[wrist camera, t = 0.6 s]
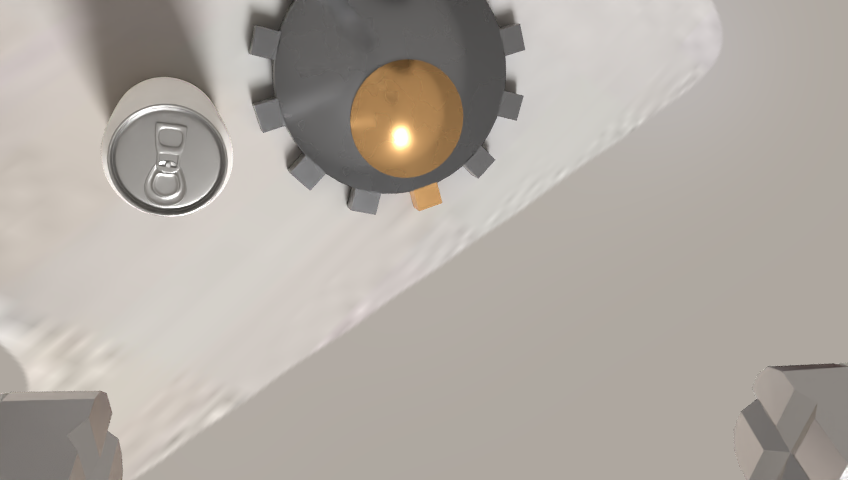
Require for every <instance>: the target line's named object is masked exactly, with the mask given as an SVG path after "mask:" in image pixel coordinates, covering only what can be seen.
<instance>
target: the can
mask: <svg viewBox="0 0 848 480" xmlns="http://www.w3.org/2000/svg"><path fill="white" fill-rule="evenodd" d="M101 161H102V166H103V170H104V173H105V175H106V178H107V180H108V182H109V183H110V185H111V187H112V188H113V189H114V191H115V192H116V193H117V194H118V195H119V196H120V197H121V198H122V199H123V200H124V201H125V202H127V203H128V204H129V205H131V206H133V207H134V208H136V209H138V210H140V211H142V212H145V213H148V214H151V215H156V216H163V217H176V216H183V215H187V214H190V213H193V212H196V211H198V210H200V209H202V208H204V207H205V206H207V205H208V204H210V203H211V202H212V201H213V200H214V199H215V198H216V197H217V196H218V195H219V194H220V193H221V192H222V190H223V189H224V187H225V186H226V184H227V182H228V179H229V177H230V174H231V170H232V165H233V147H232V142H231V139H230V135H229V133H228V130H227V128H226V126H225V124H224V122H223V120H222V118H221V117H220V115H219V113H218V111H217V109H216V108H215V106H214V105H213V103H212V102H211V100H210V99H209V98H208V97H207V95H206V94H205V93H204V92H202V91H201V90H200V89H199V88H197V87H196V86H194V85H193V84H191V83H189V82H186V81H184V80H181V79H177V78H172V77H156V78H151V79H148V80H145V81H142V82H140V83H138V84H136V85H135V86H133V87H132V88H131V89H129V90H128V91H127V92H126V93H125V94H124V95H123V97H122V98H121V99H120V101H119V102H118V104H117V106H116V108H115V109H114V111H113V113H112V115H111V117H110V119H109V121H108V123H107V126H106V128H105V131H104V134H103V137H102V142H101Z"/></svg>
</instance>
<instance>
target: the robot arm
mask: <svg viewBox="0 0 848 480" xmlns="http://www.w3.org/2000/svg"><path fill="white" fill-rule="evenodd" d="M752 390H753V391H754V393H755V396H756V398H757V399H756V400H755V401H754V402H752V403H751V404H750V405H749V406H747V407H746V408H745V409H743V410H742V411H741V413H740V415H739V417H738V420H737V422H736V425H735V428H734V451H735V453H736V457H737V460H738V464H739V466H740V468H741V470H742V472H743V474H744V476H745V478H746V480H848V363H840V364H834V363H832V364H810V365H789V366H768V367H766V368H765V369H764V370H762V371H761V372H760V373H759V374H758V375H757V378H756V379H755V382H754V384H753V386H752ZM111 416H112V410H111V407H110V403H109V400H108V396H107V393H105V392H102V391H53V392H10V393H0V480H122V477H123V465H122V452H121V448H120V443H119V439H118V438H117V437H115V436H114V435H113V434H111V433H110V432H108V427H109V423H110V420H111Z"/></svg>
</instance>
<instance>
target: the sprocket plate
mask: <svg viewBox="0 0 848 480" xmlns="http://www.w3.org/2000/svg"><path fill="white" fill-rule="evenodd" d="M523 50H525V47H524V42H523V37H522V32H521V27H520V24H510V25H507V26H503V27H500V28H499V27H498V24H497V22H496V19H495V17H494V14H493V12H492V11H491V9H490V7H489V5H488V4H487V2H486V0H294V1H293V3H292V4H291V6H290V8H289V9H288V11H287V13H286V15H285V17H284V19H283V22H282V24H281V26H280V29H279V31H276V30H273V29H269V28H265V27H261V26H257V25H254V30H253V35H252V40H251V45H250V50H249V54H252V55H256V56H260V57H264V58H268V59H272V60H273V86H274V94H275V97H272V98H269V99H266V100H263V101H259V102H256V103H253V104H252V105H253V108H254V111H255V114H256V117H257V120H258V123H259V126H260V129H261V131H262V132H263V133H264V132H267V131H270V130H273V129H277V128H280V127H283V126H285V127H286V129H287V130H288V132H289V134H290V136H291V137H292V139H293V140H294V142H295V143H296V144H297V146H298V147H299V148H300V150H301V151H302V152H303V153H302V154H301V155H300V157H299V158H298V159H297V160H296V161H295V162H294V163H293V164H292V165H291V166H290V168H289V169H288V171H289V172H290V173H291V174H292V175H293V176H294V177H295V178H296V179H297V180H299V181H300V182H301V183H302V184H303V185H304V186H306V187H307V188H308V189H309V190H311V189H312V188H313V187H314V186H315V185H316V184H317V183H318V181H319V180H320V179H321V178H322V177H323V176H324V175H325V174H327V175H329V176H331V177H332V178H334V179H336V180H337V181H339V182H341V183H343V184H346V185H348V186H351V187H352V188H351V192H350V196H349V201H348V205H347V207H348V208H349V209H350V210H352V211H358V212H363V213H369V214H374V215H376V211H377V207H378V203H379V199H380V195H381V193H383V194H386V193H404V192H410V195H411V198H412V202H413V206H414V208H416V209H417V210H418V211H421V210H424V209H427V208H429V207H432V206H435V205H438V204H441V203H442V200H441V196H440V193H439V189H438V185H437V182H439V181H441V180H443V179H445V178H446V177H448V176H450V175H451V174H453V173H454V172H455V171H457V170H458V169H459V168H461V167H462V166H463V167H464V168H465V169H466V170H467V171H468V172H469V173H470V174H471V175H473V176H475V177H476V178H479V177H480V176H481V175H482V174H483V173H484V172H485V171H486V170H487V168H488V167H489V166H490V165H491V164H492V163H493V162H494V161H495V159H494V158H493V157H492V156H491V155H490V154H489V153H488V152H487V151H486V150H485V149H484V148H483V147H482V146H481V145H482V144H483V142H484V141H485V139H486V138H487V136H488V134H489V133H490V131H491V129H492V127H493V125H494V123H495V120H496V118H497V116H500V117H504V118H508V119H512V120H516V121H517V117H518V114H519V110H520V106H521V103H522V99H523V96H522V95H518V94H515V93H511V92H507V91H504V89H505V78H506V59H505V56H507V55H510V54H513V53H516V52H519V51H523Z"/></svg>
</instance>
